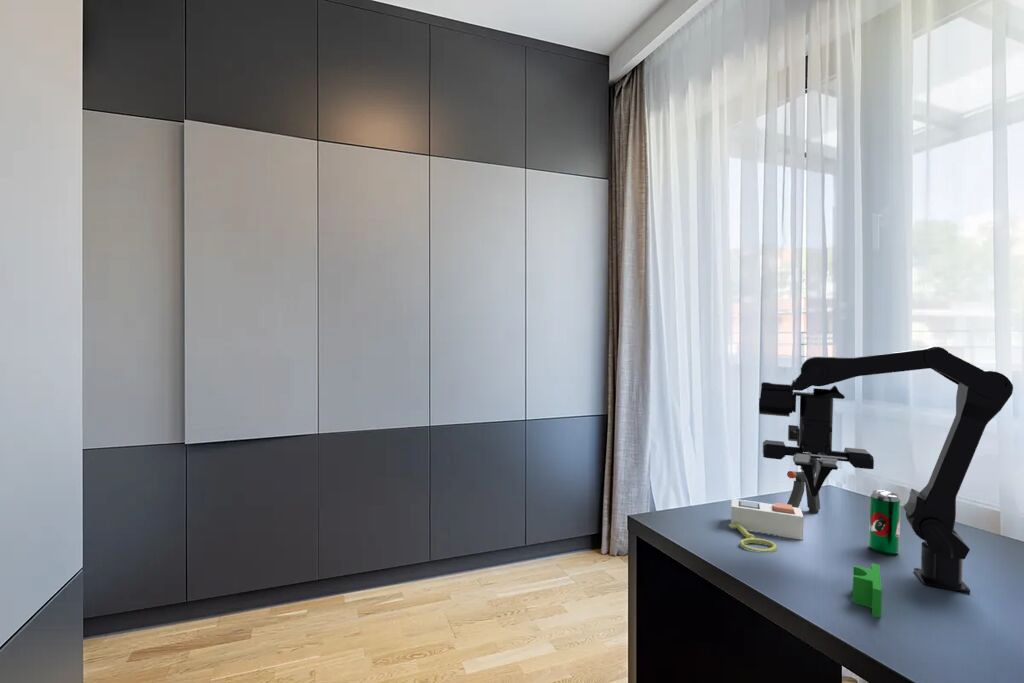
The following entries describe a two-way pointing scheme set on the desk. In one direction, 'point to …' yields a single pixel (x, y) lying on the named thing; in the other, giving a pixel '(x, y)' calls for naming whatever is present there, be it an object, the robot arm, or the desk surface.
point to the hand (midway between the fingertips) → (813, 496)
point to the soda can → (884, 522)
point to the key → (753, 539)
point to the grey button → (749, 504)
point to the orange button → (783, 508)
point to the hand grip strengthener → (799, 487)
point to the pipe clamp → (868, 588)
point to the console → (768, 519)
